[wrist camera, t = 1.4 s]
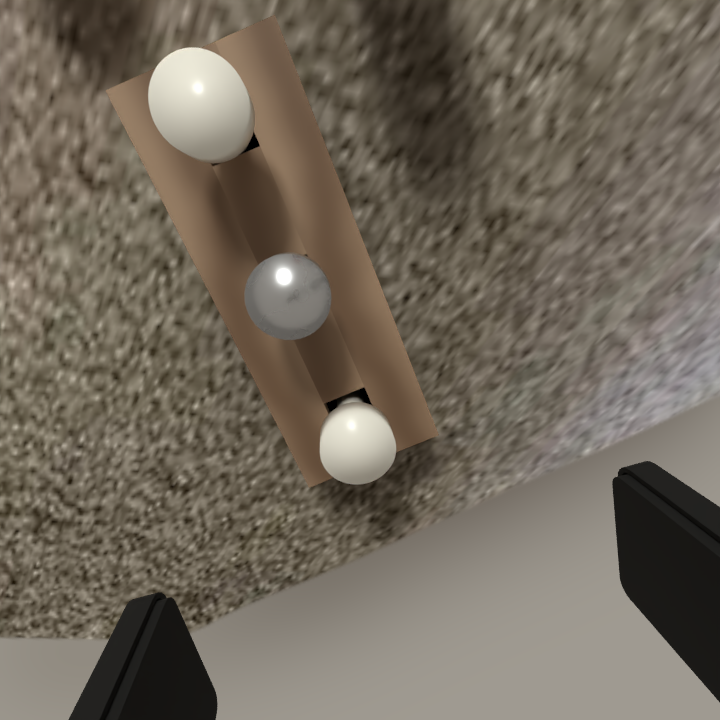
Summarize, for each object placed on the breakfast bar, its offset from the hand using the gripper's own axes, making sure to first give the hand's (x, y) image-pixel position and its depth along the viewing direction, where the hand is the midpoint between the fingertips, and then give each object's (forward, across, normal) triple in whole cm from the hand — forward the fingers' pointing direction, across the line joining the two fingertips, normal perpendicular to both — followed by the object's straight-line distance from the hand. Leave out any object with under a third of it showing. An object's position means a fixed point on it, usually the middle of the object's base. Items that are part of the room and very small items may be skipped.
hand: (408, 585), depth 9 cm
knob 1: (+23, +3, -14) cm, 27 cm away
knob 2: (+23, 0, +5) cm, 24 cm away
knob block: (+27, +2, -5) cm, 27 cm away
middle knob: (+23, +2, -5) cm, 24 cm away
